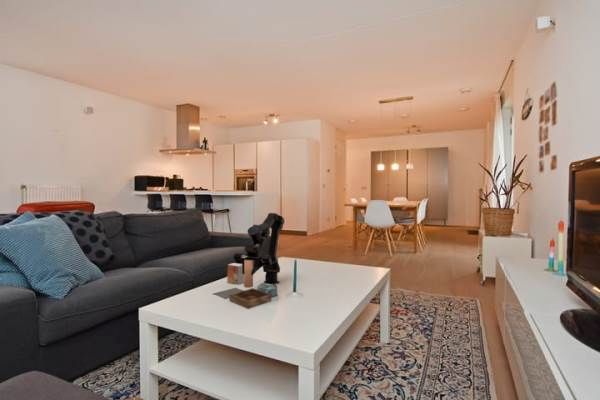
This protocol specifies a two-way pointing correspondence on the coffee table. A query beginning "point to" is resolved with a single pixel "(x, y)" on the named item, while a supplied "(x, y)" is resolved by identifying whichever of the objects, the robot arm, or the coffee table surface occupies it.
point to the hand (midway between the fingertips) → (247, 274)
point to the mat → (227, 293)
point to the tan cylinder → (248, 273)
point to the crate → (250, 298)
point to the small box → (235, 274)
